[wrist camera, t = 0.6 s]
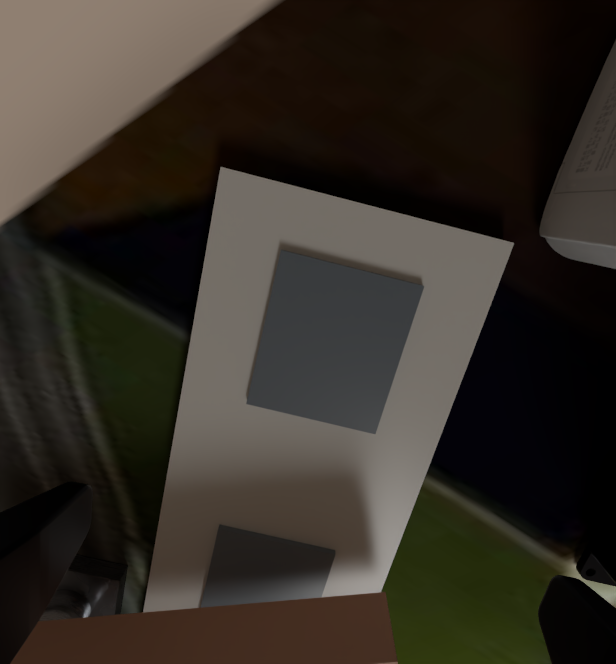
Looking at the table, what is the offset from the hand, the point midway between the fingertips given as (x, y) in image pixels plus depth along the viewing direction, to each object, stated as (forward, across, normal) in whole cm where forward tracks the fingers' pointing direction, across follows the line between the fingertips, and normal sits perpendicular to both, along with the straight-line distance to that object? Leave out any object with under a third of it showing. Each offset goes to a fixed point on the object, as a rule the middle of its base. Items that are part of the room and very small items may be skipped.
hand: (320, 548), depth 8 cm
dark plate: (+12, +11, +17) cm, 23 cm away
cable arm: (+8, +4, +14) cm, 17 cm away
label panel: (+12, 0, +6) cm, 13 cm away
